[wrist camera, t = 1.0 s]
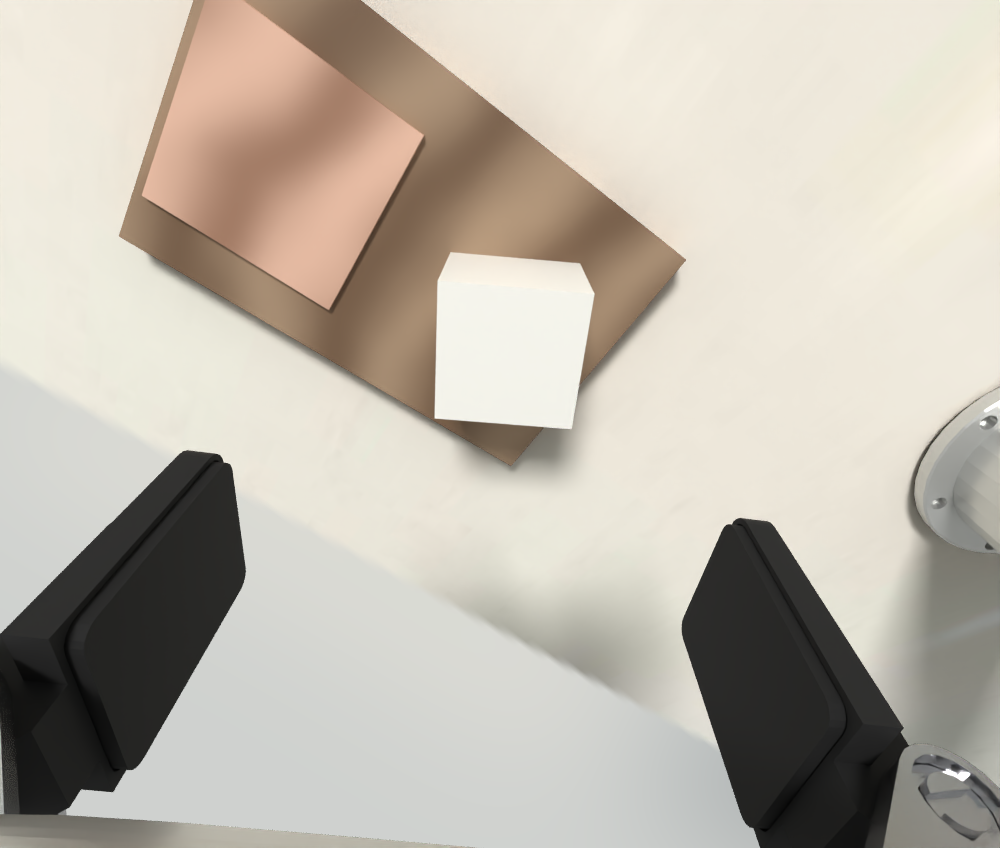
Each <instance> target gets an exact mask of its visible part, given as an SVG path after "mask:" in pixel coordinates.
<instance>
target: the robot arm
mask: <svg viewBox="0 0 1000 848" xmlns="http://www.w3.org/2000/svg"><path fill="white" fill-rule="evenodd" d="M914 497H915V502H916V507H917V510H918V512H919V514H920V516H921V517H922V519H923V521H924V522H925V523H926V524H927V525H928V526H929V527H930V528H931V529H932V530H933V531H934V532H935V533H936V534H937V535H938V536H939V537H941V538H942V539H943V540H945V541H946V542H948V543H949V544H952V545H954V546H956V547H959V548H961V549H964V550H969V551H974V552H979V553H999V554H1000V387H999V388H997V389H995V390H993V391H992V392H990V393H988V394H986V395H984V396H983V397H981V398H980V399H979V400H977V401H976V402H974V403H973V404H972V405H970V406H969V407H968V408H966V409H965V410H964V411H962V412H961V413H960V414H959V415H958V416H957V417H956V418H955V419H954V420H953V421H952V422H950V423H949V424H948V425H947V426H946V427H945V428H944V430H943V431H942V432H941V433H940V435H939V436H938V437H937V438H936V440H935V441H934V442H933V443H932V444H931V446H930V448H929V450H928V451H927V453H926V455H925V457H924V458H923V460H922V462H921V464H920V467H919V470H918V473H917V476H916V479H915V491H914ZM245 569H246V568H245V560H244V553H243V546H242V538H241V531H240V523H239V516H238V508H237V501H236V494H235V486H234V479H233V471H232V467H231V465H230V464H228V463H224V462H223V459H222V457H221V456H220V455H218V454H213V453H205V452H197V451H188V450H187V451H183V452H182V453H180V454H179V455H178V456H177V457H176V458H175V459H174V460H173V461H172V462H171V463H170V464H169V465H168V466H167V467H166V468H165V469H164V470H163V471H162V472H161V473H160V474H159V475H158V476H157V477H156V478H155V479H154V481H153V482H151V483H150V484H149V485H148V486H147V488H146V489H145V490H144V491H143V492H142V493H141V494H140V495H139V496H138V497H137V498H136V499H135V500H134V501H133V502H132V503H131V504H130V505H129V506H128V507H127V508H126V509H125V510H124V511H123V512H122V513H121V514H120V515H119V516H118V517H117V518H116V519H115V520H114V521H113V522H112V523H110V524H109V525H108V526H107V527H106V528H105V529H104V530H103V531H102V532H101V533H100V534H99V535H98V536H97V537H96V538H95V539H94V540H93V541H92V542H91V543H90V544H89V545H88V546H87V547H86V548H85V549H84V550H83V551H82V552H81V553H80V554H79V555H78V556H77V557H76V558H75V559H74V560H73V561H72V562H71V563H70V564H69V565H68V566H67V567H66V568H65V569H64V571H62V573H60V574H59V575H58V576H57V577H56V578H55V579H54V580H53V581H52V582H51V583H50V584H49V585H48V586H47V587H46V588H45V589H44V590H43V592H42V593H41V594H39V595H38V596H37V597H36V599H34V601H33V602H31V603H30V605H29V606H28V607H27V608H26V609H25V610H24V611H23V612H22V613H21V614H20V615H19V616H18V617H17V618H16V619H15V620H14V621H13V622H12V623H11V624H10V625H9V626H8V627H7V628H6V629H5V630H4V631H3V632H2V633H1V634H0V848H473V847H462V846H450V845H439V844H427V843H415V842H404V841H393V840H381V839H371V838H359V837H346V836H335V835H323V834H311V833H298V832H287V831H275V830H274V831H273V830H262V829H251V828H238V827H226V826H215V825H203V824H191V823H178V822H162V821H147V820H131V819H115V818H99V817H84V816H67V815H66V809H67V808H69V807H70V806H71V804H72V802H73V801H74V800H75V798H76V796H77V795H78V793H79V792H80V790H81V789H83V790H94V791H106V792H113V791H114V790H115V788H116V786H117V785H118V783H119V781H120V780H121V778H122V776H123V774H124V773H125V771H126V770H133V769H134V768H136V767H137V766H138V765H139V764H140V763H141V761H142V760H143V758H144V757H145V755H146V753H147V751H148V750H149V748H150V746H151V745H152V743H153V741H154V739H155V737H156V736H157V734H158V732H159V731H160V729H161V727H162V725H163V724H164V722H165V720H166V718H167V717H168V715H169V713H170V712H171V710H172V708H173V706H174V705H175V703H176V701H177V699H178V698H179V696H180V694H181V692H182V691H183V689H184V687H185V686H186V684H187V682H188V680H189V679H190V677H191V675H192V673H193V671H194V670H195V668H196V666H197V665H198V663H199V661H200V659H201V658H202V656H203V654H204V652H205V651H206V649H207V647H208V646H209V644H210V642H211V640H212V639H213V637H214V635H215V633H216V632H217V630H218V628H219V626H220V625H221V623H222V621H223V619H224V618H225V616H226V614H227V613H228V611H229V609H230V607H231V606H232V604H233V602H234V600H235V599H236V597H237V595H238V593H239V592H240V590H241V588H242V585H243V583H244V579H245V573H246V570H245ZM682 636H683V640H684V643H685V646H686V649H687V652H688V655H689V658H690V661H691V664H692V667H693V670H694V673H695V676H696V679H697V682H698V685H699V688H700V691H701V694H702V697H703V700H704V704H705V707H706V710H707V713H708V716H709V719H710V722H711V725H712V728H713V731H714V734H715V737H716V740H717V743H718V746H719V749H720V752H721V755H722V758H723V761H724V764H725V767H726V770H727V773H728V777H729V779H730V782H731V786H732V789H733V792H734V795H735V798H736V801H737V804H738V807H739V810H740V813H741V815H742V818H743V820H744V821H745V823H746V824H747V825H748V826H749V827H751V828H754V831H755V834H756V837H757V840H758V842H759V846H760V848H1000V788H999V787H998V786H997V785H995V784H994V783H993V782H992V781H991V780H990V779H989V778H988V777H987V776H986V775H985V774H984V773H983V772H982V771H980V770H979V769H977V768H976V767H975V766H973V765H972V764H970V763H969V762H968V761H966V760H965V759H963V758H962V757H960V756H958V755H956V754H954V753H952V752H950V751H948V750H946V749H944V748H940V747H937V746H934V745H930V744H913V745H911V746H909V745H908V744H907V742H906V740H905V739H904V737H903V736H902V734H901V731H902V730H903V726H902V725H901V723H900V722H899V720H898V718H897V717H896V715H895V714H894V712H893V711H892V709H891V708H890V706H889V704H888V703H887V701H886V700H885V698H884V697H883V695H882V694H881V692H880V690H879V689H878V687H877V686H876V684H875V683H874V681H873V679H872V678H871V676H870V675H869V673H868V672H867V670H866V669H865V667H864V665H863V664H862V662H861V661H860V659H859V658H858V656H857V655H856V653H855V651H854V650H853V648H852V647H851V645H850V644H849V642H848V641H847V639H846V637H845V636H844V634H843V633H842V631H841V630H840V628H839V627H838V625H837V623H836V622H835V620H834V619H833V617H832V616H831V614H830V613H829V611H828V609H827V608H826V606H825V605H824V603H823V602H822V600H821V599H820V597H819V595H818V594H817V592H816V591H815V589H814V588H813V586H812V585H811V583H810V581H809V580H808V578H807V577H806V575H805V574H804V572H803V571H802V569H801V567H800V566H799V564H798V563H797V561H796V560H795V558H794V556H793V555H792V553H791V552H790V550H789V549H788V547H787V546H786V544H785V542H784V541H783V539H782V538H781V536H780V535H779V533H778V532H777V530H776V528H775V527H774V526H773V525H772V524H771V523H770V522H767V521H760V520H752V519H743V518H738V519H736V520H735V521H734V522H733V523H732V525H730V524H729V525H726V526H725V527H724V528H723V530H722V532H721V535H720V537H719V539H718V541H717V543H716V546H715V548H714V550H713V552H712V555H711V557H710V559H709V561H708V564H707V566H706V568H705V570H704V573H703V575H702V577H701V579H700V582H699V584H698V586H697V588H696V591H695V593H694V595H693V597H692V600H691V602H690V604H689V606H688V609H687V611H686V613H685V615H684V618H683V621H682Z"/></svg>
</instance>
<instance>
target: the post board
mask: <svg viewBox="0 0 1000 848" xmlns="http://www.w3.org/2000/svg"><path fill="white" fill-rule="evenodd" d="M119 237H121V238H123V239H124V240H126V241H128V242H129V243H131V244H133V245H135V246H136V247H138V248H140V249H141V250H143V251H145V252H147V253H148V254H150V255H152V256H153V257H155V258H157V259H158V260H160V261H162V262H164V263H165V264H167V265H169V266H170V267H172V268H174V269H176V270H177V271H179V272H181V273H182V274H184V275H186V276H187V277H189V278H191V279H193V280H194V281H196V282H198V283H199V284H201V285H203V286H205V287H206V288H208V289H210V290H211V291H213V292H215V293H216V294H218V295H220V296H222V297H223V298H225V299H227V300H228V301H230V302H232V303H234V304H235V305H237V306H239V307H240V308H242V309H244V310H245V311H247V312H249V313H251V314H252V315H254V316H256V317H257V318H259V319H261V320H263V321H264V322H266V323H268V324H269V325H271V326H273V327H274V328H276V329H278V330H280V331H281V332H283V333H285V334H286V335H288V336H290V337H292V338H293V339H295V340H297V341H298V342H300V343H302V344H303V345H305V346H307V347H309V348H310V349H312V350H314V351H315V352H317V353H319V354H321V355H322V356H324V357H326V358H327V359H329V360H331V361H332V362H334V363H336V364H338V365H339V366H341V367H343V368H344V369H346V370H348V371H350V372H351V373H353V374H355V375H356V376H358V377H360V378H361V379H363V380H365V381H367V382H368V383H370V384H372V385H373V386H375V387H377V388H379V389H380V390H382V391H384V392H385V393H387V394H389V395H390V396H392V397H394V398H396V399H397V400H399V401H401V402H402V403H404V404H406V405H408V406H409V407H411V408H413V409H414V410H416V411H418V412H419V413H421V414H423V415H425V416H426V417H428V418H430V419H431V420H433V421H435V422H437V423H438V424H440V425H442V426H443V427H445V428H447V429H448V430H450V431H452V432H454V433H455V434H457V435H459V436H460V437H462V438H464V439H466V440H467V441H469V442H471V443H472V444H474V445H476V446H477V447H479V448H481V449H483V450H484V451H486V452H488V453H489V454H491V455H493V456H495V457H496V458H498V459H500V460H501V461H503V462H505V463H506V464H508V465H510V466H511V465H512V464H513V463H514V462H515V461H516V460H517V458H518V457H519V456H520V455H521V454H522V452H523V451H524V450H525V449H526V448H527V447H528V445H529V444H530V443H531V442H532V441H533V440H534V438H535V437H536V436H537V435H538V434H539V432H540V431H541V430H542V429H543V428H544V427H537V426H524V425H512V424H499V423H486V422H473V421H461V420H448V419H435V376H436V330H437V285H438V279H439V277H440V274H441V272H442V270H443V268H444V266H445V263H446V261H447V259H448V257H449V255H450V252H454V253H466V254H477V255H489V256H501V257H512V258H524V259H535V260H547V261H559V262H570V263H580V264H581V266H582V269H583V271H584V273H585V275H586V277H587V279H588V281H589V283H590V286H591V288H592V290H593V292H594V300H593V306H592V312H591V318H590V324H589V330H588V336H587V342H586V347H585V353H584V359H583V365H582V371H581V377H580V383H579V385H580V384H581V383H582V382H583V381H584V380H585V378H586V377H587V376H588V375H589V374H590V372H591V371H592V370H593V369H594V368H595V367H596V365H597V364H598V363H599V362H600V361H601V360H602V358H603V357H604V356H605V355H606V354H607V352H608V351H609V350H610V349H611V348H612V347H613V345H614V344H615V343H616V342H617V341H618V340H619V338H620V337H621V336H622V335H623V334H624V332H625V331H626V330H627V329H628V328H629V327H630V325H631V324H632V323H633V322H634V321H635V320H636V318H637V317H638V316H639V315H640V314H641V312H642V311H643V310H644V309H645V308H646V307H647V305H648V304H649V303H650V302H651V301H652V300H653V298H654V297H655V296H656V295H657V294H658V292H659V291H660V290H661V289H662V288H663V287H664V285H665V284H666V283H667V282H668V281H669V280H670V278H671V277H672V276H673V275H674V274H675V272H676V271H677V270H678V269H679V268H680V267H681V265H682V264H683V263H684V262H685V261H686V259H684V258H683V257H682V256H681V255H680V254H678V253H677V252H676V251H675V250H673V249H672V248H671V247H670V246H668V245H667V244H666V243H665V242H663V241H662V240H661V239H659V238H658V237H657V236H656V235H654V234H653V233H652V232H651V231H649V230H648V229H647V228H646V227H644V226H643V225H642V224H641V223H639V222H638V221H637V220H636V219H634V218H633V217H632V216H631V215H629V214H628V213H627V212H626V211H624V210H623V209H622V208H621V207H619V206H618V205H617V204H616V203H614V202H613V201H612V200H611V199H609V198H608V197H607V196H606V195H604V194H603V193H602V192H601V191H599V190H598V189H597V188H596V187H594V186H593V185H592V184H591V183H589V182H588V181H587V180H586V179H584V178H583V177H582V176H580V175H579V174H578V173H577V172H575V171H574V170H573V169H572V168H570V167H569V166H568V165H567V164H565V163H564V162H563V161H562V160H560V159H559V158H558V157H557V156H555V155H554V154H553V153H552V152H550V151H549V150H548V149H547V148H545V147H544V146H543V145H542V144H540V143H539V142H538V141H537V140H535V139H534V138H533V137H532V136H530V135H529V134H528V133H527V132H525V131H524V130H523V129H522V128H520V127H519V126H518V125H517V124H515V123H514V122H513V121H512V120H510V119H509V118H508V117H507V116H505V115H504V114H503V113H501V112H500V111H499V110H498V109H496V108H495V107H494V106H493V105H491V104H490V103H489V102H488V101H486V100H485V99H484V98H483V97H481V96H480V95H479V94H478V93H476V92H475V91H474V90H473V89H471V88H470V87H469V86H468V85H466V84H465V83H464V82H463V81H461V80H460V79H459V78H458V77H456V76H455V75H454V74H453V73H451V72H450V71H449V70H448V69H446V68H445V67H444V66H443V65H441V64H440V63H439V62H438V61H436V60H435V59H434V58H433V57H431V56H430V55H429V54H428V53H426V52H425V51H424V50H422V49H421V48H420V47H419V46H417V45H416V44H415V43H414V42H412V41H411V40H410V39H409V38H407V37H406V36H405V35H404V34H402V33H401V32H400V31H399V30H397V29H396V28H395V27H394V26H392V25H391V24H390V23H389V22H387V21H386V20H385V19H384V18H382V17H381V16H380V15H379V14H377V13H376V12H375V11H374V10H372V9H371V8H370V7H369V6H367V5H366V4H365V3H364V2H362V1H361V0H193V4H192V7H191V10H190V13H189V16H188V19H187V23H186V26H185V29H184V32H183V35H182V38H181V42H180V45H179V48H178V51H177V54H176V57H175V61H174V64H173V67H172V70H171V73H170V76H169V79H168V83H167V86H166V89H165V92H164V95H163V98H162V102H161V105H160V108H159V111H158V114H157V117H156V121H155V124H154V127H153V130H152V133H151V136H150V140H149V143H148V146H147V149H146V152H145V155H144V158H143V162H142V165H141V168H140V171H139V174H138V177H137V181H136V184H135V187H134V190H133V193H132V196H131V200H130V203H129V206H128V209H127V212H126V215H125V219H124V222H123V225H122V228H121V231H120V234H119Z"/></svg>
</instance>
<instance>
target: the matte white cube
mask: <svg viewBox="0 0 1000 848" xmlns="http://www.w3.org/2000/svg"><path fill="white" fill-rule="evenodd" d="M593 300H594V292H593V290H592V288H591V286H590V283H589V281H588V279H587V277H586V275H585V273H584V271H583V269H582V266H581V264H580V263H570V262H559V261H547V260H535V259H524V258H512V257H501V256H489V255H477V254H466V253H454V252H450V255H449V257H448V259H447V261H446V263H445V266H444V268H443V270H442V272H441V274H440V277H439V279H438V285H437V330H436V376H435V419H448V420H461V421H473V422H486V423H499V424H512V425H524V426H537V427H550V428H562V429H572V424H573V418H574V412H575V407H576V401H577V395H578V389H579V383H580V377H581V371H582V365H583V359H584V353H585V347H586V342H587V336H588V330H589V324H590V318H591V312H592V306H593Z"/></svg>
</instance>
